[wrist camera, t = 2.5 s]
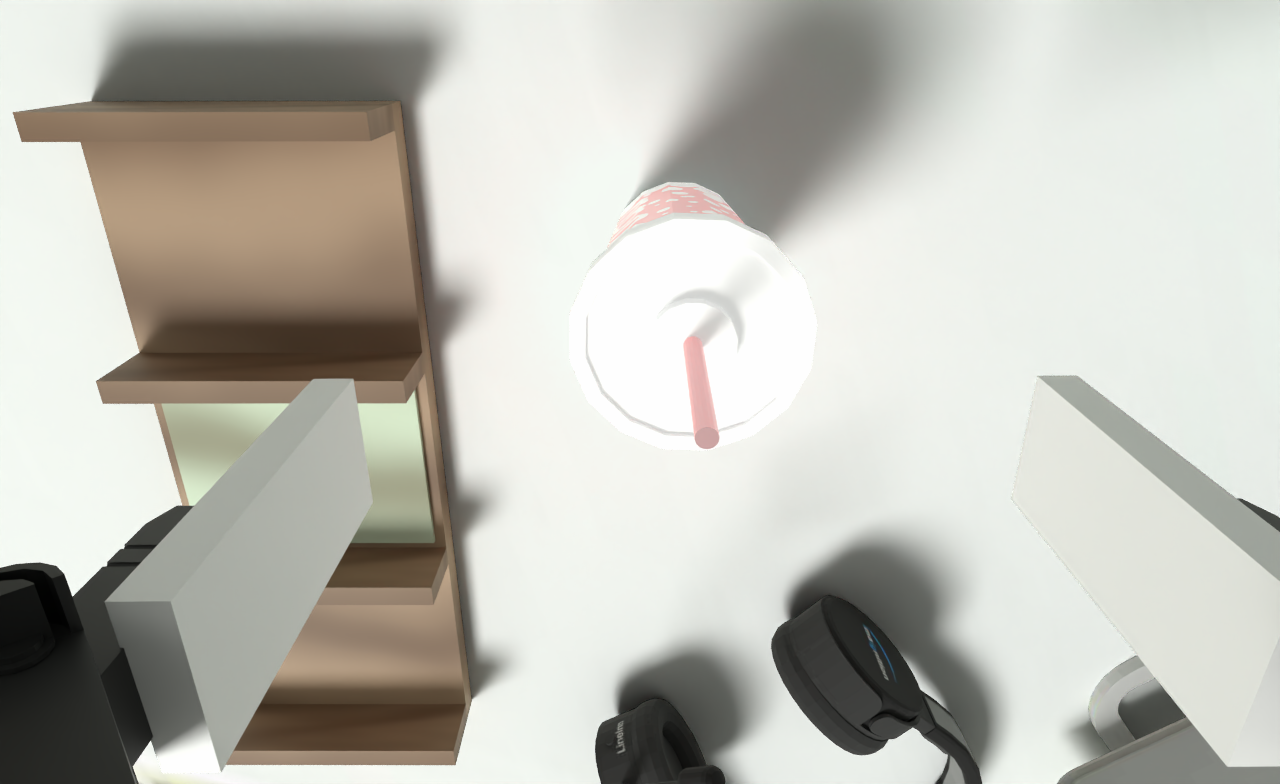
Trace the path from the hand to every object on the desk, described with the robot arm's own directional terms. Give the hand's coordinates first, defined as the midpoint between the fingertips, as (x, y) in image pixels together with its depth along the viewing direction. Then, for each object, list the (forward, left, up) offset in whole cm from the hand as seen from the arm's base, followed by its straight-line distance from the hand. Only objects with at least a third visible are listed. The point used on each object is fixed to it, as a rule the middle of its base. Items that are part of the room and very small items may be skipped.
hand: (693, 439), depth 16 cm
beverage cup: (0, 0, -14) cm, 14 cm away
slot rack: (+8, -14, -14) cm, 21 cm away
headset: (+22, +6, -14) cm, 27 cm away
